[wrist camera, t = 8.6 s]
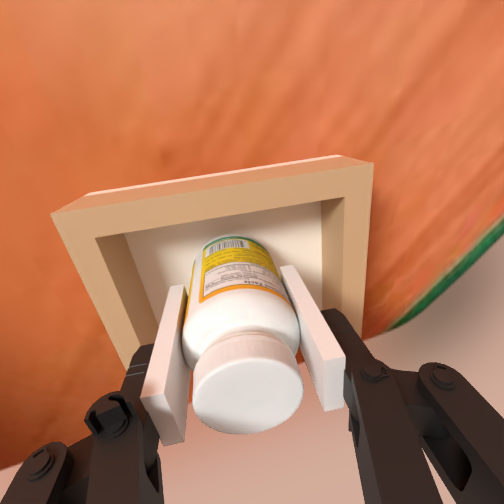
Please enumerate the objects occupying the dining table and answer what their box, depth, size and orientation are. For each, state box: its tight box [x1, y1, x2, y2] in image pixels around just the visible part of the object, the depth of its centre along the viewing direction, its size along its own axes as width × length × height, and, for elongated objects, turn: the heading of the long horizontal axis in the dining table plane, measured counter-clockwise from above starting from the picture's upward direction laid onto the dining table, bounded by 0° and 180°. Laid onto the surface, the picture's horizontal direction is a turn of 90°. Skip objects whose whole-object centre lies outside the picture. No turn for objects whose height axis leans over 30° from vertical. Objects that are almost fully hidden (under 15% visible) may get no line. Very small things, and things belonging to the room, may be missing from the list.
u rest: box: [50, 155, 374, 371], centre depth 18 cm, size 16×12×4 cm
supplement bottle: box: [182, 234, 304, 434], centre depth 14 cm, size 5×5×10 cm
